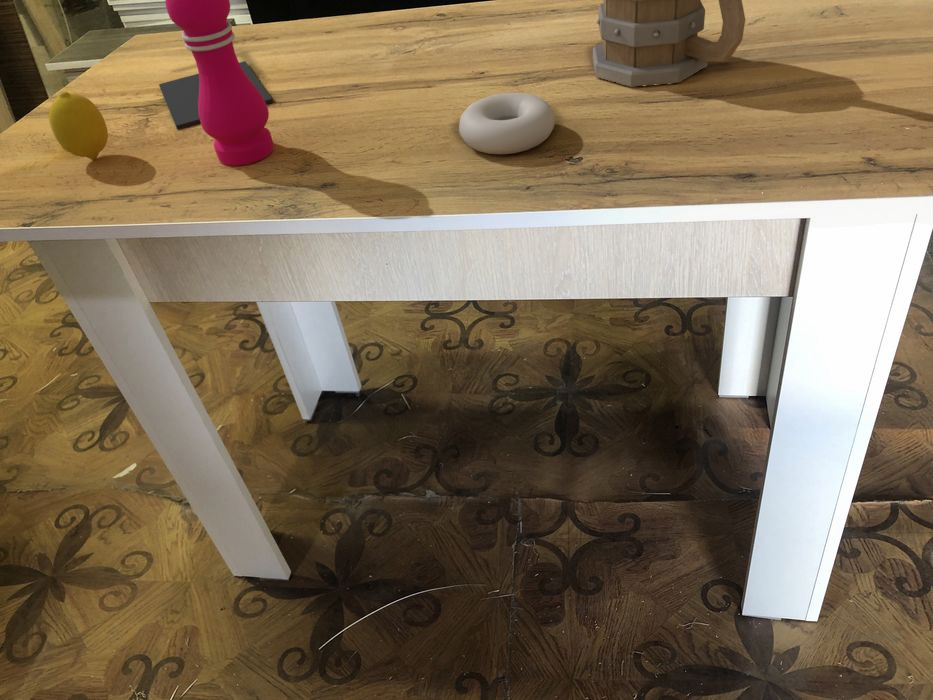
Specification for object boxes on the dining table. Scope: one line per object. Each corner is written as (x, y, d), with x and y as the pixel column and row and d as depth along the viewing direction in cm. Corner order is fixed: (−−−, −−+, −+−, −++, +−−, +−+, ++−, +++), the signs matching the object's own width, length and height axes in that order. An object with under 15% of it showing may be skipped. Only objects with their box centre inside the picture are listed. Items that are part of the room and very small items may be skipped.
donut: (443, 154, 80) (530, 166, 76) (438, 123, 78) (527, 133, 74) (488, 113, 87) (571, 122, 82) (485, 83, 84) (569, 90, 80)
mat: (177, 129, 93) (175, 125, 93) (160, 87, 105) (158, 84, 104) (273, 102, 96) (272, 98, 96) (246, 64, 107) (245, 60, 107)
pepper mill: (202, 156, 86) (131, -36, 73) (257, 132, 90) (199, -56, 77) (234, 175, 82) (165, -26, 69) (291, 148, 85) (235, -48, 72)
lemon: (122, 144, 92) (93, 78, 86) (114, 165, 87) (83, 97, 82) (75, 152, 91) (43, 87, 86) (64, 174, 87) (30, 106, 82)
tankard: (571, 71, 92) (568, -67, 83) (639, 37, 98) (644, -96, 88) (715, 112, 80) (730, -44, 70) (783, 71, 86) (806, -80, 76)
